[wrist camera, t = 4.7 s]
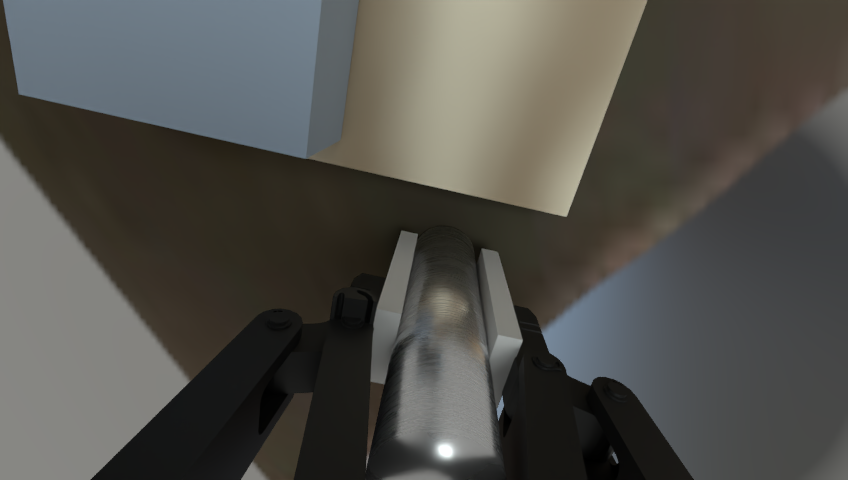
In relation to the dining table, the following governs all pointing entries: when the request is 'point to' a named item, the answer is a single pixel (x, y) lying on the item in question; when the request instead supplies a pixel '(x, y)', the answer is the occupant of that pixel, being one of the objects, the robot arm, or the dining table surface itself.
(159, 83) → the block
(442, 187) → the base plate
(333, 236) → the dining table surface
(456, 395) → the pin
